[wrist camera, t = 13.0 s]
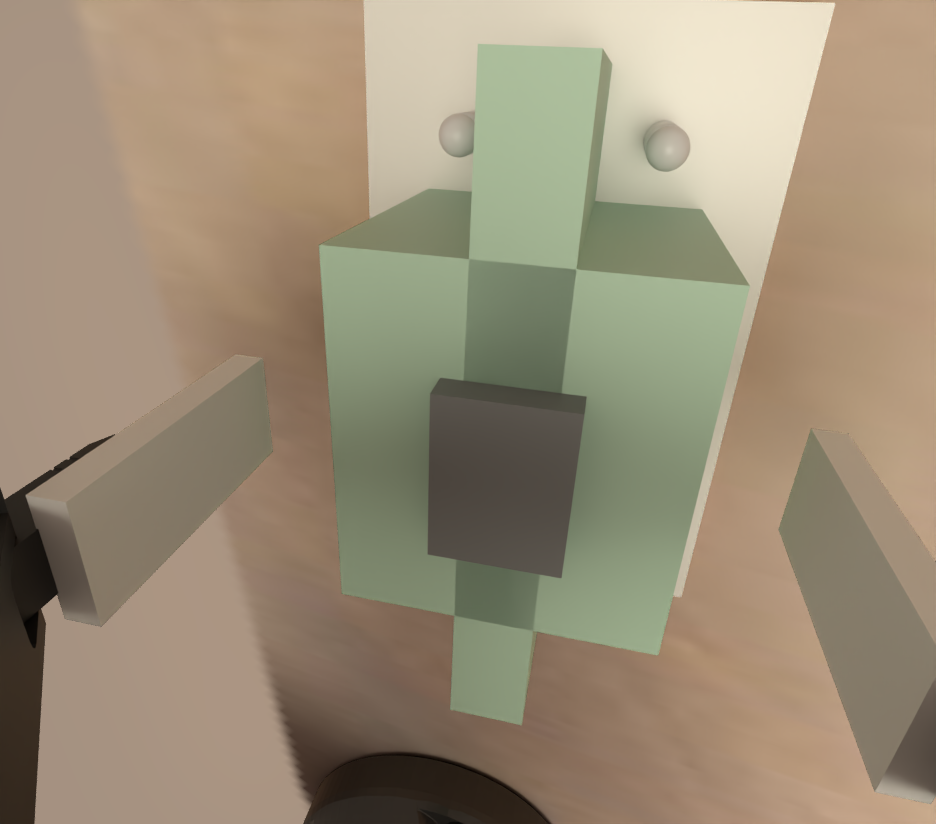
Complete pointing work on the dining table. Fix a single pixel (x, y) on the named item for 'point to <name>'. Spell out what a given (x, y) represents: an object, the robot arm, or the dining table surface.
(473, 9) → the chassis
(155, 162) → the dining table surface
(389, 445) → the green stepped block
